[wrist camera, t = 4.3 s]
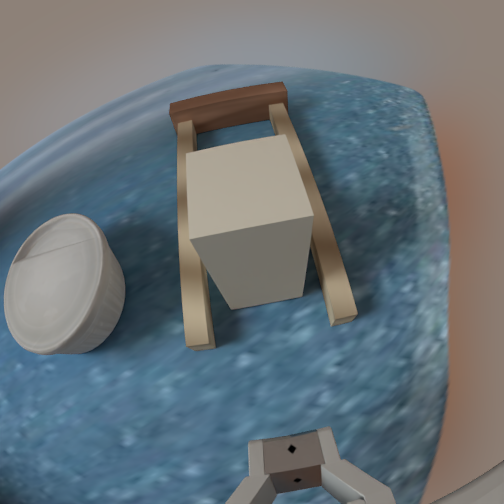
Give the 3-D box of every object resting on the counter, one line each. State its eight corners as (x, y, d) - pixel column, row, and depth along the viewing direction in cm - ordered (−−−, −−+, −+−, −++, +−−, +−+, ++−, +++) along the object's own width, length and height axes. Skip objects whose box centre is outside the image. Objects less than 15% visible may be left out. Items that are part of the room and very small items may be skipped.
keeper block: (302, 296, 20) (314, 215, 12) (231, 309, 21) (189, 239, 12) (287, 235, 23) (285, 134, 14) (222, 247, 23) (185, 153, 14)
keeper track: (358, 319, 20) (371, 305, 16) (188, 352, 20) (170, 343, 17) (283, 106, 31) (282, 81, 28) (178, 127, 31) (170, 103, 28)
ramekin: (103, 221, 26) (75, 188, 21) (163, 305, 22) (132, 279, 17) (28, 294, 23) (-7, 273, 19) (70, 389, 19) (26, 382, 14)
